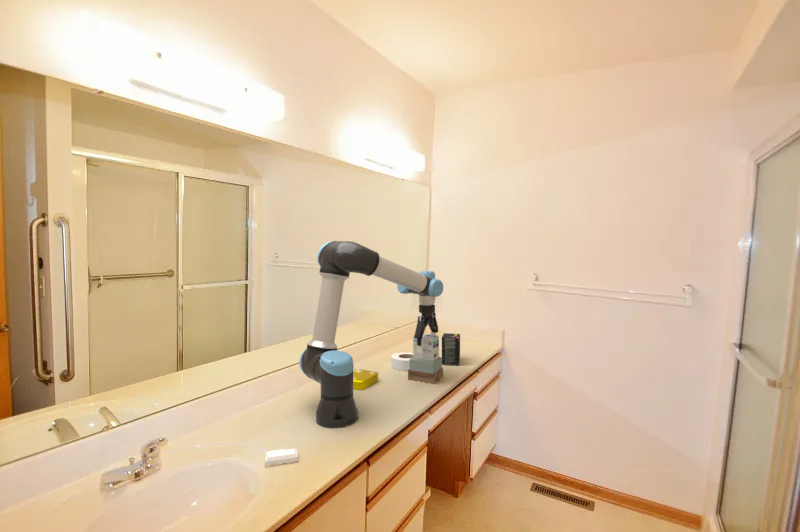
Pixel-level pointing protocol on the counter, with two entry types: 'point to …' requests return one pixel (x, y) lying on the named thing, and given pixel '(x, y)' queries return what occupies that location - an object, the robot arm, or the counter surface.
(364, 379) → the element tile
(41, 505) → the counter surface
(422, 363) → the grey-green top block
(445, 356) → the tampon box
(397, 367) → the roll of tape
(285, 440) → the counter surface
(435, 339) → the light bulb box
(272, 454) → the soap bar
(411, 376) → the walnut base block
